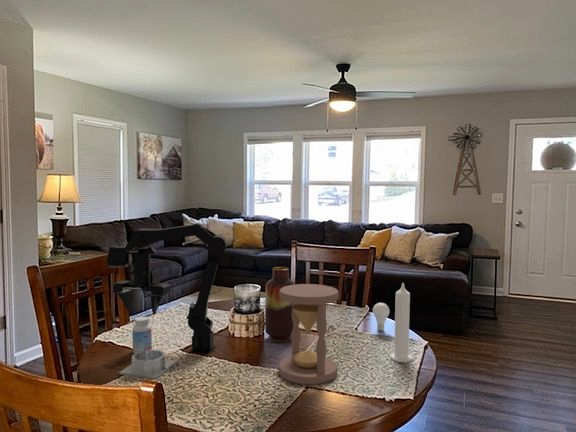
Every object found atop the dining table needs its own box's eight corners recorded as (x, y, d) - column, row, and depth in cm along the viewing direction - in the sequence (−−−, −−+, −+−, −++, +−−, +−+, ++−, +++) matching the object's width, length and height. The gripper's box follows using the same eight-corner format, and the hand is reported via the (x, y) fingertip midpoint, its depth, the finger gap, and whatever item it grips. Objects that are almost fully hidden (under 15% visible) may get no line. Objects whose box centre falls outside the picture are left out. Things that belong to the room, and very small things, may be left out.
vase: (268, 345, 156) (269, 271, 154) (262, 335, 167) (262, 266, 165) (299, 342, 159) (299, 270, 157) (290, 332, 170) (291, 265, 168)
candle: (413, 363, 141) (415, 285, 140) (390, 361, 142) (392, 284, 141) (411, 355, 148) (413, 281, 146) (389, 353, 149) (391, 279, 148)
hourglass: (271, 364, 139) (271, 285, 137) (321, 357, 145) (322, 282, 143) (291, 388, 122) (292, 299, 121) (347, 379, 129) (349, 294, 127)
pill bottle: (148, 354, 146) (147, 321, 145) (129, 354, 146) (129, 321, 146) (154, 348, 152) (153, 316, 151) (136, 348, 152) (136, 315, 152)
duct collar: (176, 363, 139) (176, 350, 139) (155, 379, 128) (155, 365, 128) (142, 359, 142) (142, 346, 142) (119, 374, 131) (119, 360, 131)
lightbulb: (371, 332, 171) (372, 304, 171) (373, 327, 177) (373, 300, 177) (388, 334, 169) (389, 305, 169) (389, 329, 175) (390, 301, 175)
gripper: (178, 264, 153) (179, 309, 154) (131, 261, 158) (131, 305, 159) (161, 270, 142) (162, 318, 143) (111, 267, 147) (111, 313, 148)
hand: (141, 313), depth 148 cm, fingers open, 9 cm apart
